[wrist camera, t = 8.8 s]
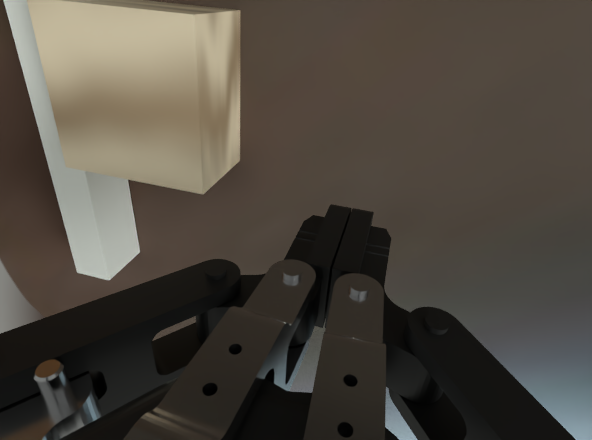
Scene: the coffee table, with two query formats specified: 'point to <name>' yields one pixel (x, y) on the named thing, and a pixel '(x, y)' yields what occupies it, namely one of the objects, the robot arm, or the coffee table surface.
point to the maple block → (143, 88)
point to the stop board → (76, 174)
